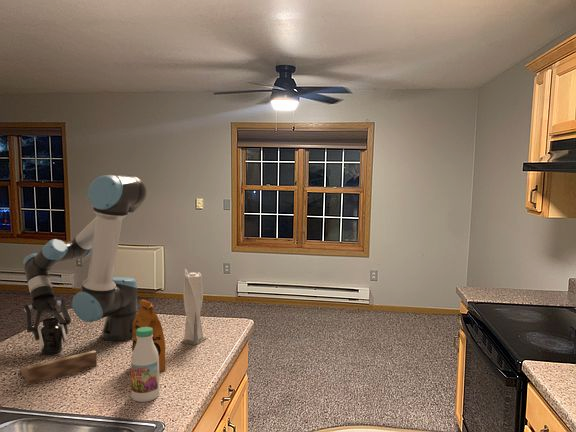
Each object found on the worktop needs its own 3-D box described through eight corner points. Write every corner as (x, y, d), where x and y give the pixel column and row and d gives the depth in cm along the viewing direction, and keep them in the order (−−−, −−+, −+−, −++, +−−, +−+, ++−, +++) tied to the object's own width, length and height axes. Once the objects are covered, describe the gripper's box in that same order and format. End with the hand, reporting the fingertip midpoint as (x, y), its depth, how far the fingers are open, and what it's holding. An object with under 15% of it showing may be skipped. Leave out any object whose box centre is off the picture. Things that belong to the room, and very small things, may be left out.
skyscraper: (178, 341, 171) (177, 270, 168) (190, 335, 178) (189, 266, 176) (196, 345, 167) (196, 272, 165) (208, 338, 175) (207, 268, 172)
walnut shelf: (85, 355, 157) (84, 341, 156) (96, 366, 148) (96, 351, 147) (20, 371, 144) (19, 356, 143) (28, 384, 135) (28, 368, 134)
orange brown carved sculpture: (138, 378, 140) (136, 309, 138) (130, 363, 150) (129, 300, 148) (169, 371, 145) (168, 305, 143) (159, 357, 155) (159, 296, 153)
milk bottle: (135, 390, 132) (134, 324, 130) (161, 389, 132) (160, 324, 131) (128, 403, 124) (126, 333, 122) (156, 402, 125) (155, 333, 123)
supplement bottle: (66, 349, 162) (65, 317, 161) (51, 356, 156) (50, 323, 155) (52, 346, 164) (51, 315, 163) (36, 353, 158) (35, 321, 157)
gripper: (67, 291, 176) (81, 343, 166) (9, 300, 163) (20, 356, 153) (70, 281, 172) (85, 333, 161) (12, 289, 159) (23, 346, 148)
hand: (54, 344), depth 157 cm, fingers closed on supplement bottle, 7 cm apart
